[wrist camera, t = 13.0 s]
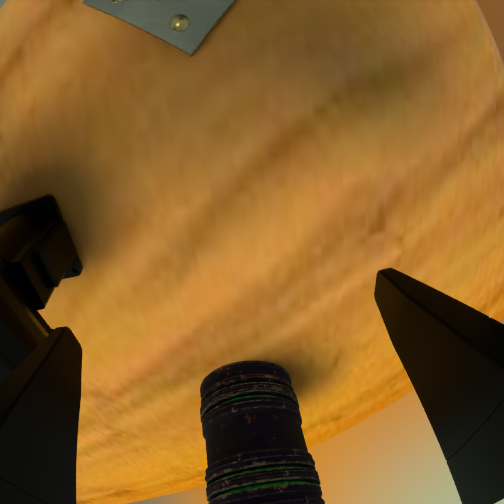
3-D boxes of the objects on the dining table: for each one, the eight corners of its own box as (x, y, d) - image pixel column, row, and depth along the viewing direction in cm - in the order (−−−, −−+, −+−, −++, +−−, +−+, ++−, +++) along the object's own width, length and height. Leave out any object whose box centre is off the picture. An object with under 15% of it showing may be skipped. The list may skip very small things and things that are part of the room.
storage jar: (194, 363, 28) (203, 517, 16) (296, 354, 30) (340, 497, 17) (203, 414, 33) (214, 532, 21) (286, 406, 35) (315, 518, 22)
